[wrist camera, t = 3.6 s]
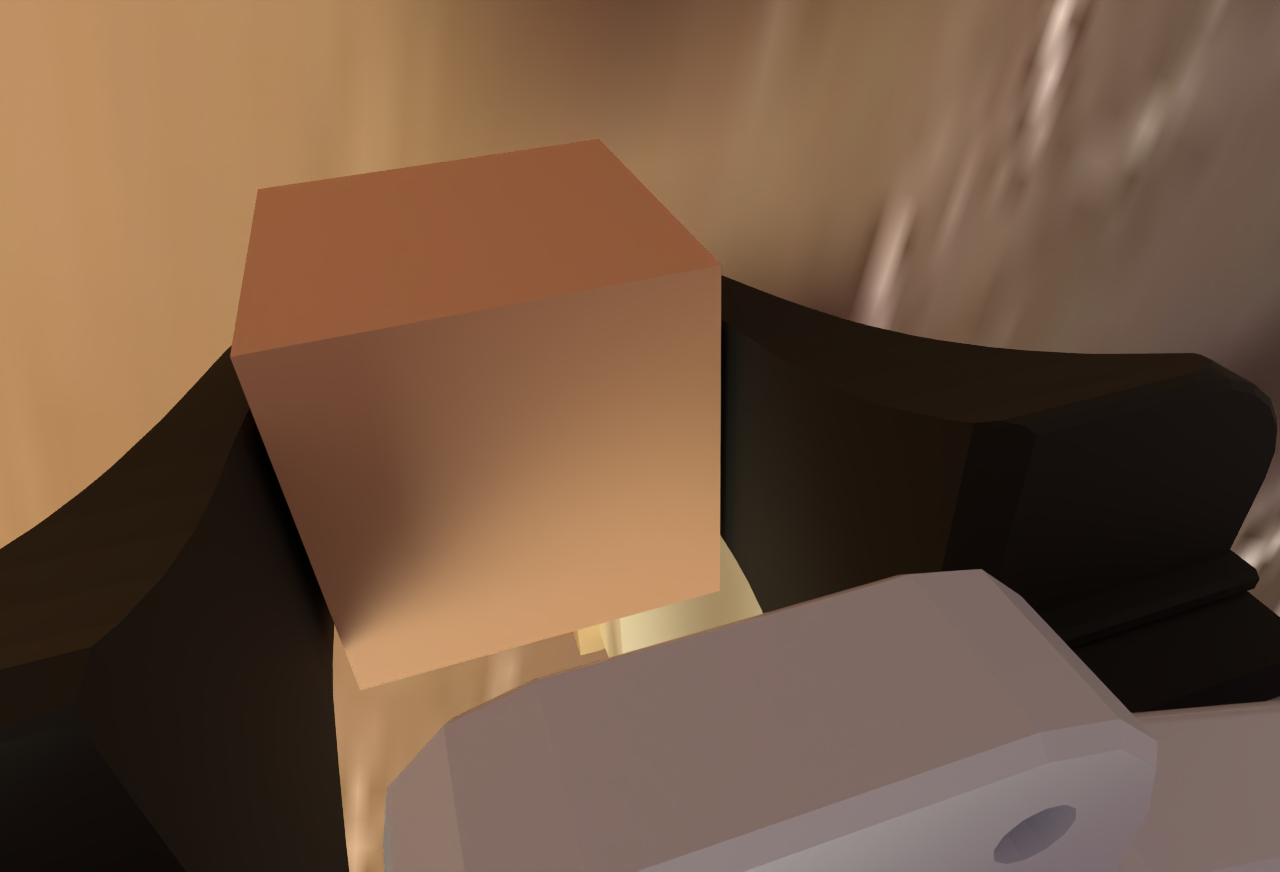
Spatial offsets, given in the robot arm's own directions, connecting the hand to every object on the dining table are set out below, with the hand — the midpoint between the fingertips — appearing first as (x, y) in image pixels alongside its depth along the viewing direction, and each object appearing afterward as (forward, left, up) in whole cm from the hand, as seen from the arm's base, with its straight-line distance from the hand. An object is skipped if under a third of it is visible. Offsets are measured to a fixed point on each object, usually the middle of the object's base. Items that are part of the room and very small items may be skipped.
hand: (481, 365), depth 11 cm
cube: (0, 0, -2) cm, 2 cm away
